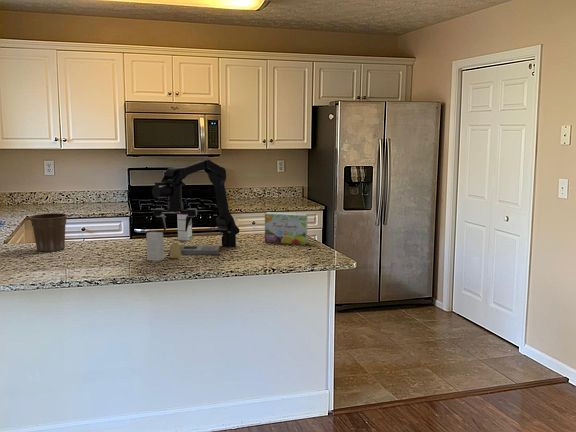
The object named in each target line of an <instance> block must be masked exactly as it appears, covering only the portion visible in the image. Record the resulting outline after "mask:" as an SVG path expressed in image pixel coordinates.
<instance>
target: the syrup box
mask: <svg viewBox="0 0 576 432" xmlns="http://www.w3.org/2000/svg"><path fill="white" fill-rule="evenodd" d="M176 215H177V216H176V217H177V241H189V240H192V239H193V221H192V220H193V218H191V220H190V222H189V225H188V229H187V232H186V231H185V226H186V217H187V214H176Z"/></svg>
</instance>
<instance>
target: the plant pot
mask: <svg viewBox="0 0 576 432" xmlns="http://www.w3.org/2000/svg"><path fill="white" fill-rule="evenodd" d="M67 217H68V214H66V213H61V212H59V213H58V212H57V213H55V212H52V213H38V214H34V215H30V216H29V219H30V222H31V227H32V229H33V234H34V240H35V247H36V251H37V252H39V253H40V252H41V253H42V252H43V253H54V252H59V251H61V250H64V249H65V247H66V246H65V245H66V243H65V242H66V224H67Z"/></svg>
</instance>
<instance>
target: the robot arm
mask: <svg viewBox="0 0 576 432" xmlns="http://www.w3.org/2000/svg"><path fill="white" fill-rule="evenodd" d="M200 171H203V172H204V173H205V174H207V176H208V179H209V181H210V183H211V184H212V186H213V187H214V193H215V199H216V203H217V205H216V206H217V210H218V216H217V217H216V218H215V222H216V223H215V224H216V227H217V228H218V231H219V233H220V234H222V236H221V245H222V247H226V248H229V247H231V248H232V247H237V234H239V233H240V228H239V226H237V225H236V221H235V219H234V217H233V215H232V214H231V212H230V210H229V204H228V202H229V201H228V198H227V192H226V186H225V182H226V181H227V171H226V168H224V167H223V166H220V165H218V164H217V163H214V162H213V161H212V160H211V159H208V158H201V159H200V160H197V161H194V162H192V163H188V164H186V165H183V166H174V167H172V166H171V167H168V168H167V169H166V171H165V173H164V175H163V177H162V179H161V181H160V182H158V181H155V182H154V185H153V187H152V189H151V194H152V196H153V198H154V199H163V198H168V199H167V205H166V206H167V208H168V209H165V208H164V207H156V208H155V209H153V211H152V216H153V217H155V218H156V219H158V220H159V222H160V224H161V226H162V228H163V231H164V232H165V233H166V232H167V225H166V215H177V214H187V217H186V226H185V231H186V232H187V229H188V225H189V222H190V220H191V218H192V219H194V218H195V217H196V216H197V215H198V209H197V208H196V207H195V208H192V207H189V208H186V209H184V203H183V199H182V198H183V196H182V193H183V192H182V187H183V186H186V183H185V182H183V180H184V179H186V178H187V177H188V176H190V175H192V174H194V173H197V172H200Z"/></svg>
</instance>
